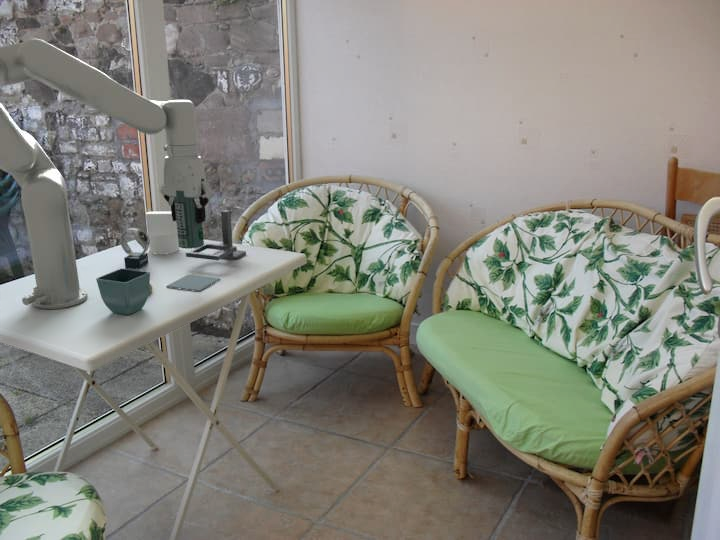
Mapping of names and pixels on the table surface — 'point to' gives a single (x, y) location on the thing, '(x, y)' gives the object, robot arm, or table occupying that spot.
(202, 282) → the coaster
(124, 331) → the table surface
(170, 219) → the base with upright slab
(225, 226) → the ring stand
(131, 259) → the watch
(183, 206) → the can
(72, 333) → the table surface
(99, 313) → the table surface
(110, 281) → the flower pot
